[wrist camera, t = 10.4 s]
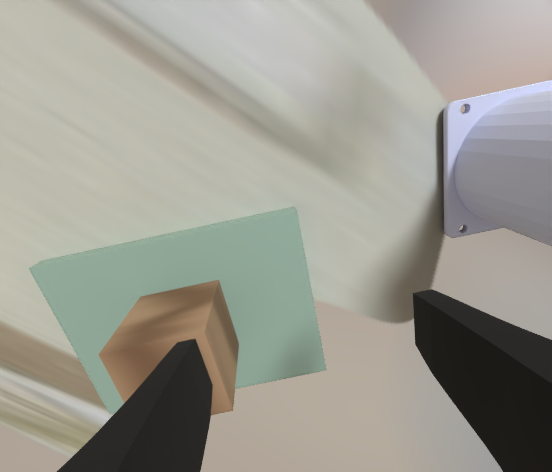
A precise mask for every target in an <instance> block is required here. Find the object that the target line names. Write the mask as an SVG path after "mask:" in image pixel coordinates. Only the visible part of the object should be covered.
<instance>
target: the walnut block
mask: <svg viewBox="0 0 552 472" xmlns="http://www.w3.org/2000/svg"><path fill="white" fill-rule="evenodd" d="M190 339H196V341H197V344H198V347H199V349H200V352H201V355H202V357H203V360H204V363H205V366H206V368H207V371H208V374H209V376H210V379H211V382H212V384H213V390H212V405H211V415H213V414H218V413H223V412H228V411H233V404H234V393H235V382H236V372H237V361H238V351H239V342H238V339H237V335H236V332H235V329H234V326H233V323H232V320H231V317H230V313H229V310H228V307H227V304H226V301H225V298H224V294H223V291H222V288H221V285H220V282H219V280H215V281H210V282H206V283H201V284H196V285H192V286H187V287H182V288H178V289H173V290H169V291H164V292H159V293H155V294H150V295H145V296H141V297H140V298H139V299H138V301H137V302H136V303H135V305H134V306H133V307H132V309H131V310H130V312H129V313H128V314H127V316H126V317H125V319H124V320H123V321H122V323H121V324H120V325H119V327H118V328H117V330H116V331H115V332H114V334H113V335H112V337H111V338H110V339H109V341H108V342H107V343H106V345H105V346H104V348H103V349H102V350H101V352H100V353H99V357H100V359H101V360H102V362H103V364H104V366H105V368H106V370H107V372H108V374H109V375H110V377H111V379H112V381H113V383H114V385H115V387H116V389H117V391H118V392H119V394H120V396H121V398H122V400H123V402H124V403H125V402H126V401H127V400H128V399H129V398H130V397H131V395H132V394H133V393H134V392H135V391H136V390H137V388H138V387H139V386H140V385H141V384H142V383H143V381H144V380H145V379H146V378H147V377H148V376H149V374H150V373H151V372H152V371H153V370H154V369H155V367H156V366H157V365H158V364H159V363H160V361H161V360H162V359H163V358H164V357H165V356H166V354H167V353H168V352H169V351H170V350H171V349H172V348H173V346H174V345H175V344H176V343H177V342H181V341H186V340H190Z"/></svg>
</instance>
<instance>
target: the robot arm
mask: <svg viewBox="0 0 552 472" xmlns="http://www.w3.org/2000/svg"><path fill="white" fill-rule="evenodd" d="M463 105H465V108H466V109H465V112H464V113H463V114H462V113H461V107H462V106H463ZM443 131H444V232H445V234H446V235H447V236H449V237H451V238H456V237H461V236H465V235H470V234H474V233H480V232H484V231H489V230H494V229H499V228H503V227H504V228H507V229H509V230H512V231H515V232H517V233H520V234H522V235H525V236H527V237H530V238H533V239H535V240H537V241H540V242H543V243H545V244H548V245H550V246H552V80H549V81H544V82H540V83H535V84H530V85H526V86H521V87H517V88H512V89H508V90H503V91H498V92H494V93H490V94H485V95H480V96H476V97H471V98H466V99H462V100H457V101H453V102H450V103H448V104H447V105H446V107H445V109H444V113H443ZM462 225H463V229H462V230H460V231H459V228H460V227H461V226H462ZM413 305H414V324H415V344H416V346H417V348H418V350H419V351H420V353H421V355H422V357H423V359H424V360H425V362H426V364H427V365H428V367H429V369H430V370H431V372H432V374H433V375H434V377H435V378H436V379H437V381H438V382H439V383H440V385H441V386H442V388H443V389H444V390H445V392H446V393H447V394H448V396H449V397H450V398H451V400H452V401H453V402H454V404H455V405H456V406H457V408H458V409H459V411H460V412H461V413H462V414H463V416H464V417H465V418H466V420H467V421H468V422H469V424H470V425H471V427H472V428H473V429H474V431H475V432H476V433H477V435H478V436H479V437H480V439H481V440H482V441H483V443H484V444H485V445H486V447H487V448H488V450H489V451H490V453H491V454H492V456H493V457H494V458H495V460H496V461H497V463H498V464H499V466H500V467H501V469H502V470H503V472H552V340H550V339H548V338H545V337H542V336H540V335H537V334H535V333H532V332H529V331H527V330H525V329H522V328H520V327H517V326H515V325H512V324H510V323H508V322H505V321H503V320H500V319H498V318H496V317H493V316H491V315H489V314H487V313H484V312H482V311H480V310H478V309H475V308H473V307H471V306H469V305H467V304H464V303H462V302H460V301H458V300H455V299H453V298H451V297H449V296H446V295H444V294H442V293H439V292H437V291H434V290H427V291H422V292H417V293H413ZM212 390H213V384H212V382H211V379H210V376H209V374H208V371H207V368H206V366H205V363H204V360H203V357H202V355H201V352H200V349H199V347H198V344H197V341H196V339H190V340H186V341H181V342H177V343H176V344H175V345H174V346H173V348H172V349H171V350H170V351H169V352H168V353H167V354H166V356H165V357H164V358H163V359H162V360H161V361H160V363H159V364H158V365H157V366H156V367H155V369H154V370H153V371H152V372H151V373H150V374H149V376H148V377H147V378H146V379H145V380H144V381H143V383H142V384H141V385H140V386H139V387H138V388H137V390H136V391H135V392H134V393H133V394H132V395H131V397H130V398H129V399H128V400H127V401H126V402H125V403H124V404H123V405H122V406H121V407H120V408H119V410H118V411H117V412H116V413H115V414H114V415H113V416H112V417H111V418H110V419H109V420H108V422H107V423H106V424H105V425H104V426H103V427H102V428H101V429H100V430H99V431H98V432H97V433H96V434H95V435H94V436H93V437H92V438H91V439H90V440H89V441H88V442H87V443H86V444H85V445H84V446H83V447H82V448H81V449H80V450H79V451H78V452H77V453H76V454H75V455H74V456H73V457H72V458H71V459H70V460H69V461H68V462H67V463H66V464H65V465H63V467H61V468H60V469H59V470H58V471H57V472H200V470H201V465H202V460H203V455H204V450H205V444H206V439H207V434H208V429H209V423H210V416H211V405H212Z"/></svg>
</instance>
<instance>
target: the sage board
mask: <svg viewBox="0 0 552 472" xmlns="http://www.w3.org/2000/svg"><path fill="white" fill-rule="evenodd" d="M29 270H30V272H31V273H32V275H33V277H34V279H35V281H36V282H37V284H38V286H39V288H40V290H41V291H42V293H43V295H44V297H45V299H46V300H47V302H48V304H49V306H50V308H51V309H52V311H53V313H54V315H55V316H56V318H57V320H58V322H59V324H60V325H61V327H62V329H63V331H64V333H65V334H66V336H67V338H68V340H69V342H70V343H71V345H72V347H73V349H74V351H75V352H76V354H77V356H78V358H79V360H80V361H81V363H82V365H83V367H84V369H85V370H86V372H87V374H88V376H89V378H90V379H91V381H92V383H93V385H94V387H95V388H96V390H97V392H98V394H99V396H100V397H101V399H102V401H103V403H104V405H105V406H106V408H107V410H108V412H109V413H110V414H114V413H116V412H117V411H118V410H119V408H120V407H121V406H122V405H123V404H124V402H123V400H122V398H121V396H120V394H119V392H118V391H117V389H116V387H115V385H114V383H113V381H112V379H111V377H110V375H109V374H108V372H107V370H106V368H105V366H104V364H103V362H102V360H101V359H100V357H99V353H100V352H101V350H102V349H103V348H104V346H105V345H106V343H107V342H108V341H109V339H110V338H111V337H112V335H113V334H114V332H115V331H116V330H117V328H118V327H119V325H120V324H121V323H122V321H123V320H124V319H125V317H126V316H127V314H128V313H129V312H130V310H131V309H132V307H133V306H134V305H135V303H136V302H137V301H138V299H139V298H140V297H141V296H145V295H150V294H155V293H159V292H164V291H169V290H173V289H178V288H182V287H187V286H192V285H196V284H201V283H206V282H210V281H215V280H219V282H220V285H221V288H222V291H223V294H224V298H225V301H226V304H227V307H228V310H229V313H230V317H231V320H232V323H233V326H234V329H235V332H236V335H237V339H238V342H239V351H238V361H237V372H236V382H235V389H236V388H241V387H246V386H251V385H255V384H261V383H266V382H271V381H276V380H280V379H286V378H291V377H295V376H300V375H305V374H310V373H315V372H320V371H324V370H326V364H325V359H324V354H323V348H322V343H321V338H320V332H319V327H318V322H317V317H316V311H315V306H314V301H313V295H312V290H311V285H310V279H309V274H308V269H307V263H306V258H305V253H304V247H303V242H302V237H301V231H300V226H299V221H298V215H297V211H296V208H295V207H291V208H287V209H282V210H277V211H273V212H268V213H263V214H259V215H254V216H249V217H245V218H240V219H235V220H231V221H226V222H221V223H217V224H212V225H207V226H203V227H198V228H193V229H189V230H184V231H179V232H175V233H170V234H165V235H161V236H156V237H152V238H147V239H142V240H138V241H133V242H128V243H124V244H119V245H114V246H110V247H105V248H100V249H96V250H91V251H86V252H82V253H77V254H72V255H68V256H63V257H58V258H54V259H49V260H44V261H40V262H39V263H37V264H35V265H34V266H32V267H30V268H29Z"/></svg>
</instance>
